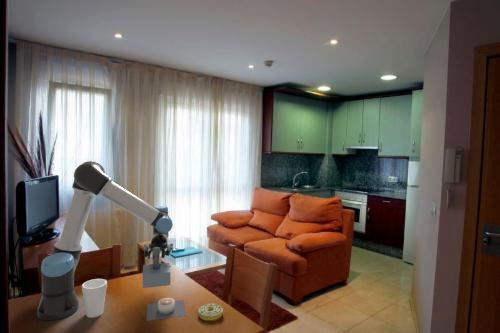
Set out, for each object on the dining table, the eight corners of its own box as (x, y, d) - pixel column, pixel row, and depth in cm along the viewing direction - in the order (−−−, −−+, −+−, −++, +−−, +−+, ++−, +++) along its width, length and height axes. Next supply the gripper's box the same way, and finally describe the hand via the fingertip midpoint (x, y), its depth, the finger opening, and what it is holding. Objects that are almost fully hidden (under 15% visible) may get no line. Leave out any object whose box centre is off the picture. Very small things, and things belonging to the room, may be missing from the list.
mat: (146, 321, 126) (146, 320, 126) (147, 304, 139) (147, 304, 139) (186, 316, 130) (186, 315, 130) (183, 300, 144) (183, 299, 144)
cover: (142, 288, 126) (142, 253, 125) (143, 277, 137) (143, 244, 136) (170, 285, 130) (170, 250, 129) (168, 274, 140) (169, 243, 139)
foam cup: (96, 321, 125) (96, 289, 124) (76, 318, 127) (76, 287, 126) (111, 309, 134) (111, 280, 134) (93, 306, 136) (92, 277, 136)
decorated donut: (224, 310, 137) (224, 301, 137) (221, 323, 126) (221, 314, 126) (200, 309, 137) (201, 300, 137) (196, 322, 126) (196, 313, 126)
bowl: (157, 314, 130) (158, 306, 130) (157, 306, 137) (157, 298, 137) (174, 312, 132) (175, 304, 132) (173, 304, 139) (174, 297, 139)
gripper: (176, 248, 152) (175, 267, 129) (141, 250, 149) (135, 269, 126) (176, 233, 152) (175, 249, 129) (141, 235, 148) (134, 251, 125)
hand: (155, 259), depth 127 cm, fingers closed on cover, 3 cm apart
